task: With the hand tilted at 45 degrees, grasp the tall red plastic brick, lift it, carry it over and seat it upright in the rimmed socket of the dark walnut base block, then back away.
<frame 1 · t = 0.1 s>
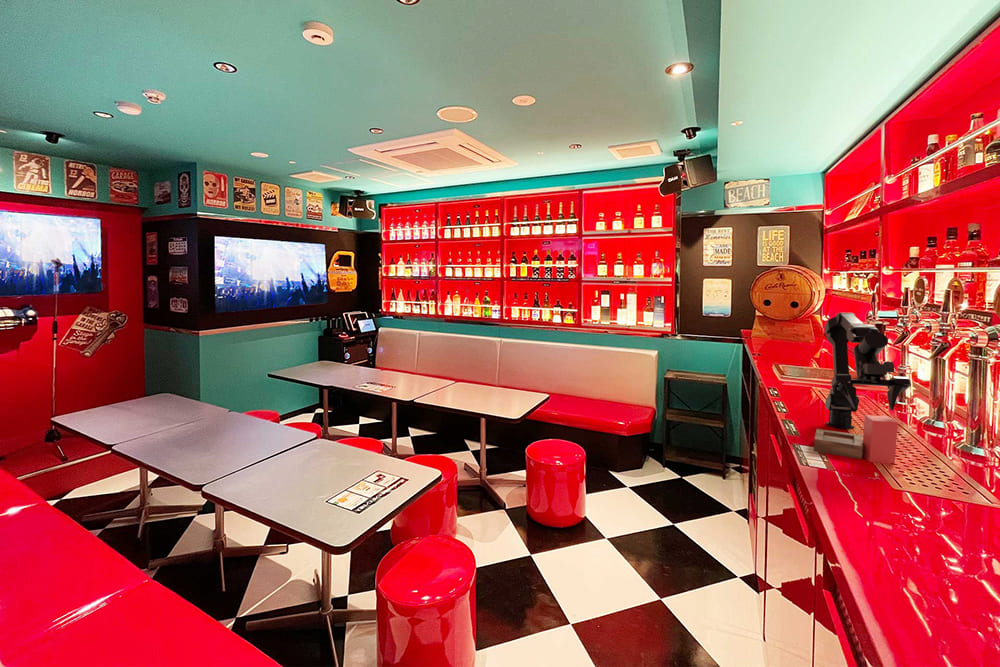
hand: (873, 409, 141), 15 cm above the worktop, tool tilted 35°, fingers open, 9 cm apart
walnut base: (837, 449, 149), on the worktop
red brick: (877, 459, 140), on the worktop
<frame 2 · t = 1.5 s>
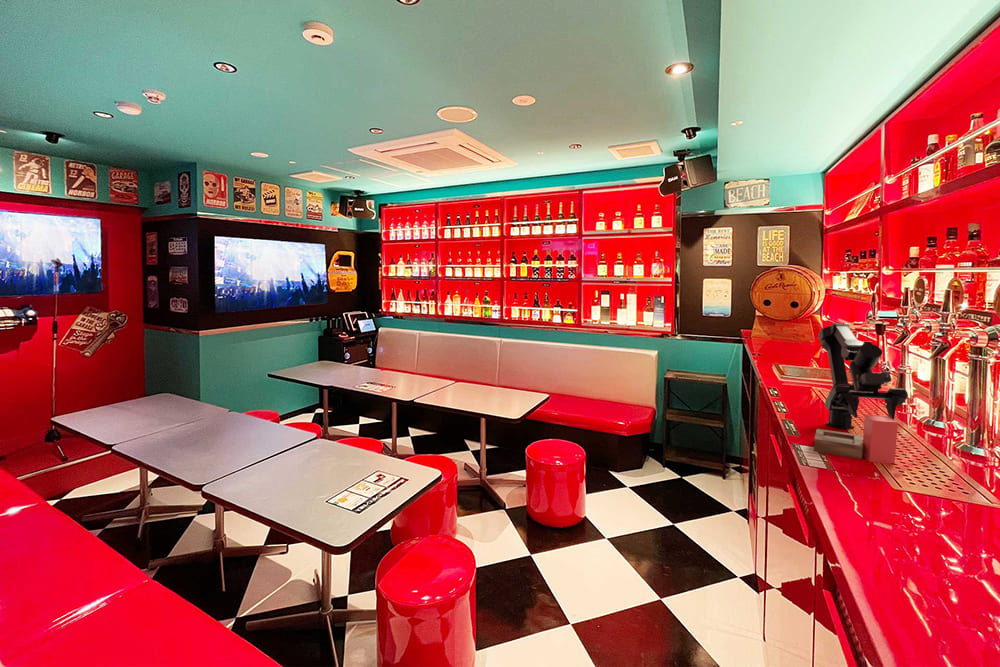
hand: (874, 418, 143), 11 cm above the worktop, tool tilted 45°, fingers open, 9 cm apart
nothing on the worktop moved.
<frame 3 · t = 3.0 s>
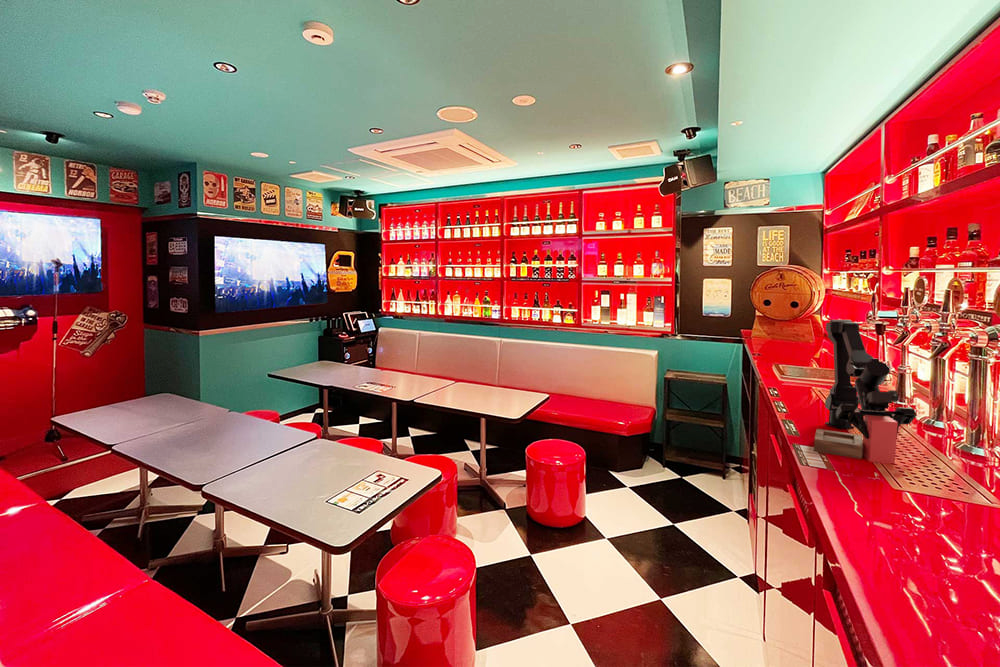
hand: (881, 439, 138), 7 cm above the worktop, tool tilted 45°, fingers closed on red brick, 6 cm apart
red brick: (877, 459, 140), on the worktop, touching gripper
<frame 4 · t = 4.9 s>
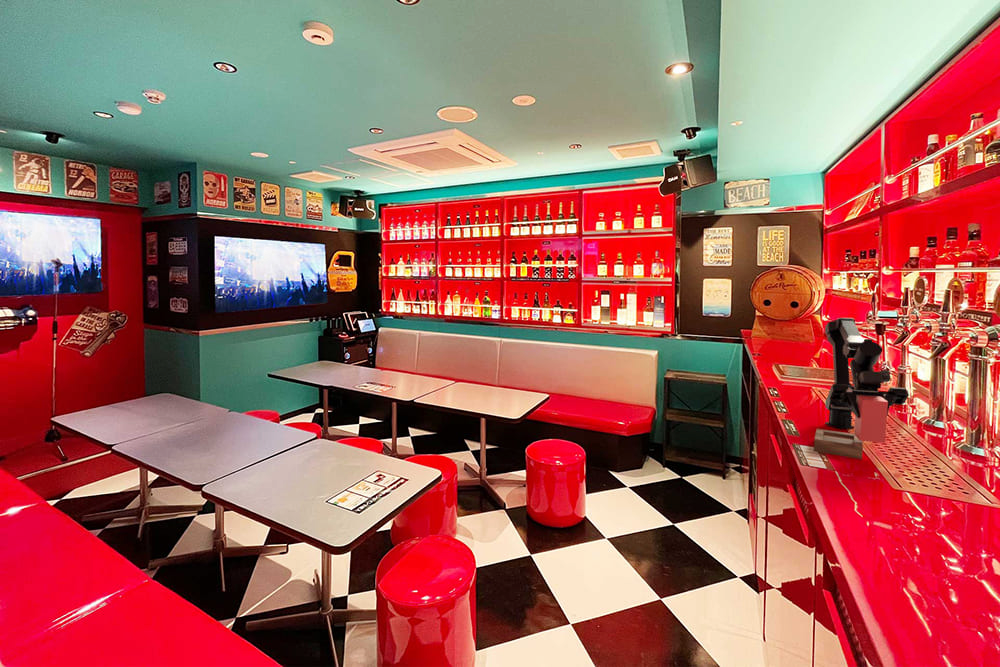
hand: (871, 418, 140), 12 cm above the worktop, tool tilted 45°, fingers closed on red brick, 6 cm apart
red brick: (869, 438, 142), point 6 cm above the worktop, touching gripper
when the fingers open (10 cm above the worktop, at t = 6.7 s): red brick stays where it is, resting on walnut base.
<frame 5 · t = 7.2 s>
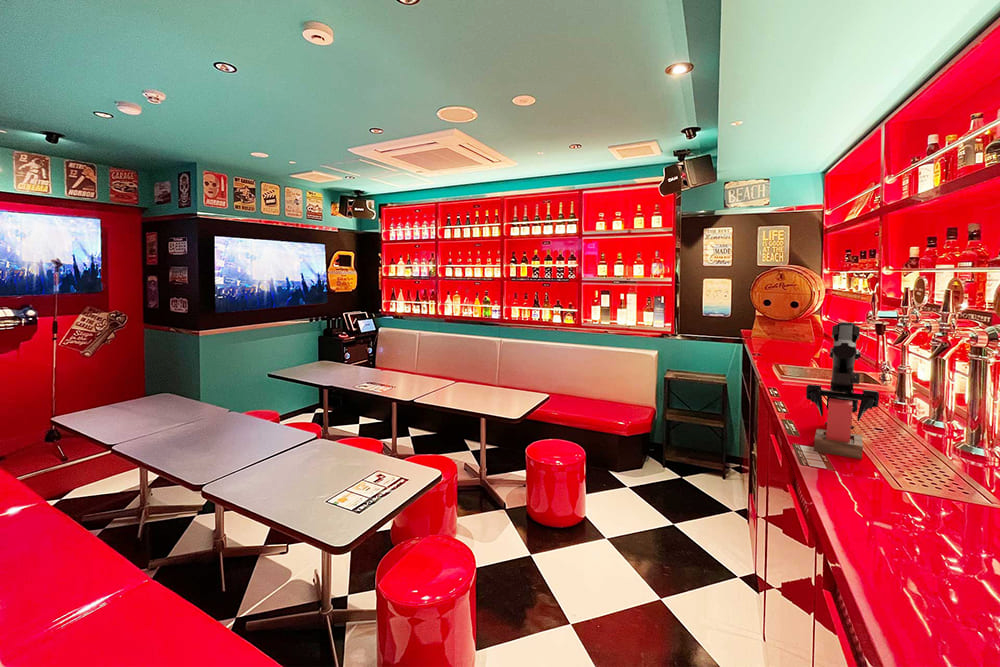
hand: (839, 418, 146), 11 cm above the worktop, tool tilted 45°, fingers open, 9 cm apart
red brick: (837, 440, 148), point 3 cm above the worktop, touching walnut base
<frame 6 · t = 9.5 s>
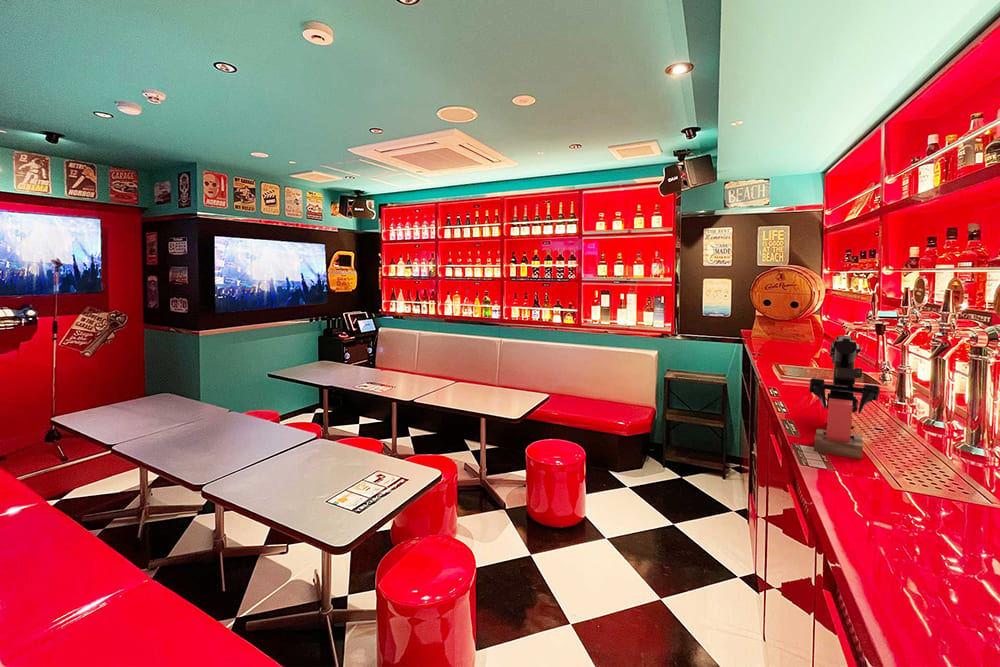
hand: (841, 410, 153), 11 cm above the worktop, tool tilted 45°, fingers open, 9 cm apart
nothing on the worktop moved.
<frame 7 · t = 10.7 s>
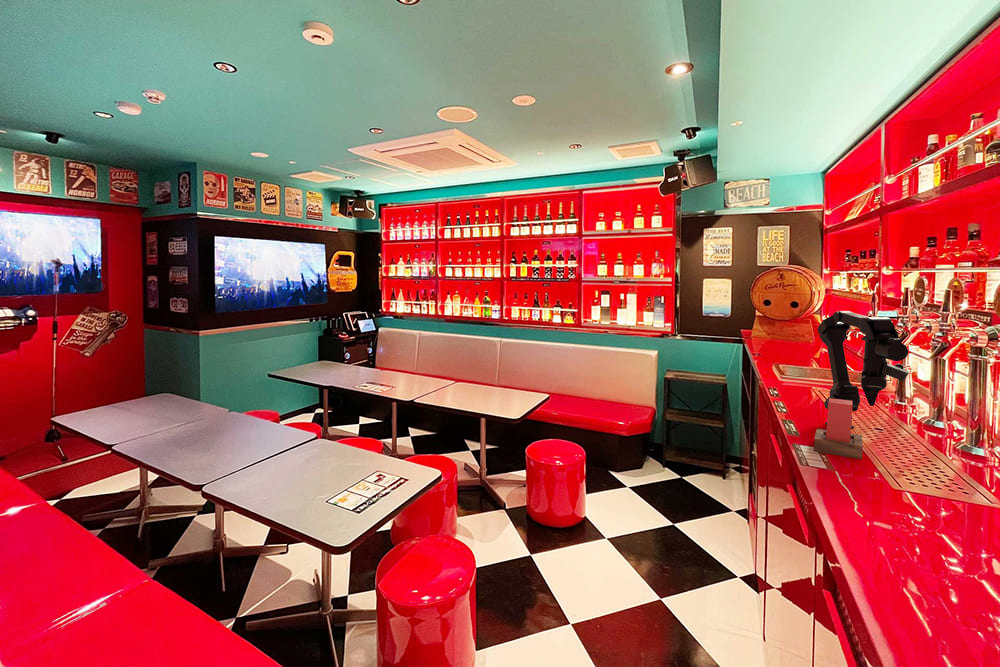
hand: (871, 402, 154), 13 cm above the worktop, tool pointing down, fingers open, 9 cm apart
nothing on the worktop moved.
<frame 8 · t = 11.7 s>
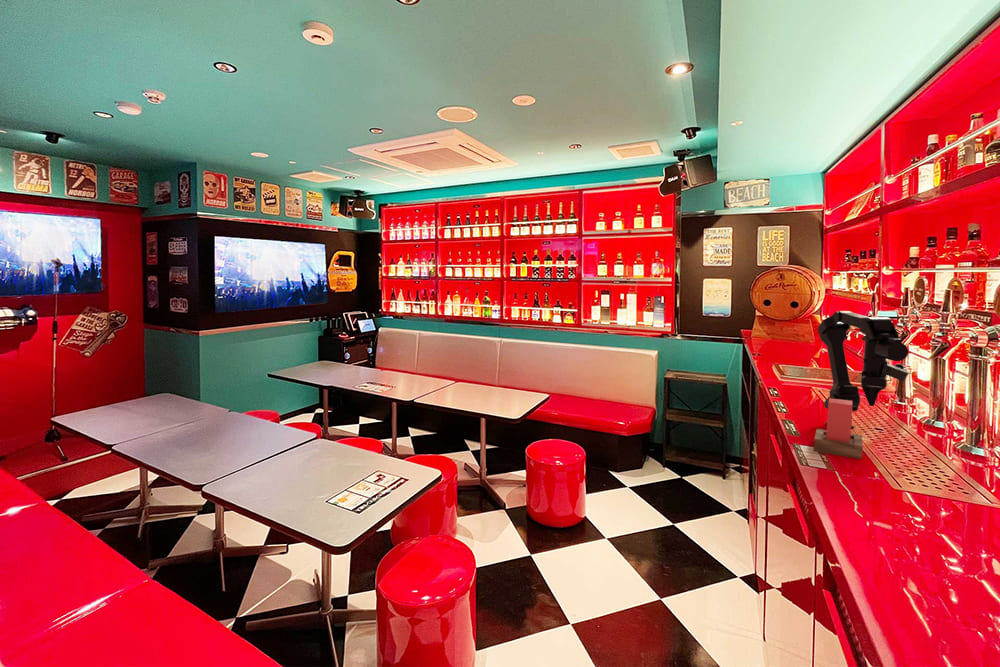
hand: (871, 402, 154), 13 cm above the worktop, tool pointing down, fingers open, 9 cm apart
nothing on the worktop moved.
at the end: red brick 0.1 cm off-centre on the walnut base, point 3.0 cm above the walnut base's base; red brick tilted 0°; the gripper is holding nothing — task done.
